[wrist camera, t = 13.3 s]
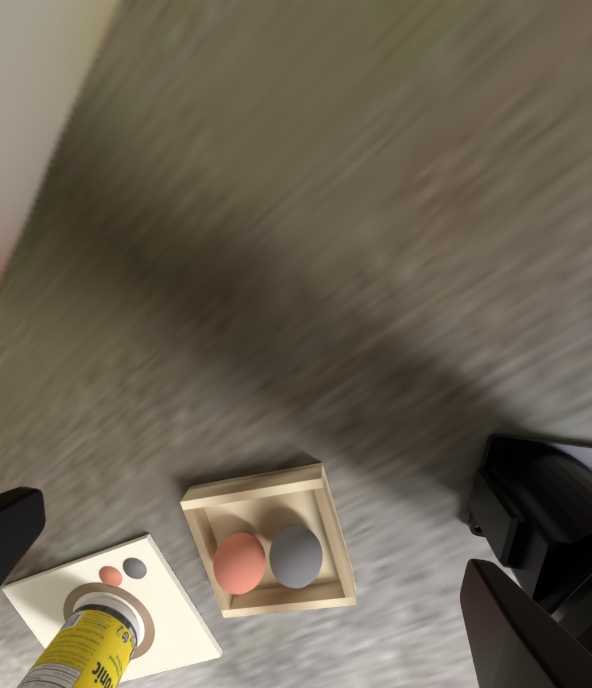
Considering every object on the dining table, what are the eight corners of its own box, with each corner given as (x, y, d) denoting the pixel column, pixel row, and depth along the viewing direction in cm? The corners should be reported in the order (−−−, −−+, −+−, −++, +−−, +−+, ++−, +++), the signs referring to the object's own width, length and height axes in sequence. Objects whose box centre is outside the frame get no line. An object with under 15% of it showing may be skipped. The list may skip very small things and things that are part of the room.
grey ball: (326, 517, 21) (324, 560, 18) (321, 559, 22) (318, 607, 19) (276, 509, 22) (265, 550, 18) (273, 551, 22) (262, 597, 19)
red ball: (271, 525, 22) (260, 568, 19) (268, 565, 23) (257, 613, 19) (224, 517, 22) (205, 558, 19) (222, 557, 23) (204, 602, 20)
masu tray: (322, 462, 21) (321, 478, 19) (355, 581, 22) (357, 604, 21) (190, 485, 22) (179, 502, 21) (231, 595, 24) (224, 617, 22)
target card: (149, 533, 24) (145, 538, 23) (222, 651, 25) (220, 658, 25) (6, 584, 27) (1, 590, 26) (80, 687, 28) (76, 693, 28)
